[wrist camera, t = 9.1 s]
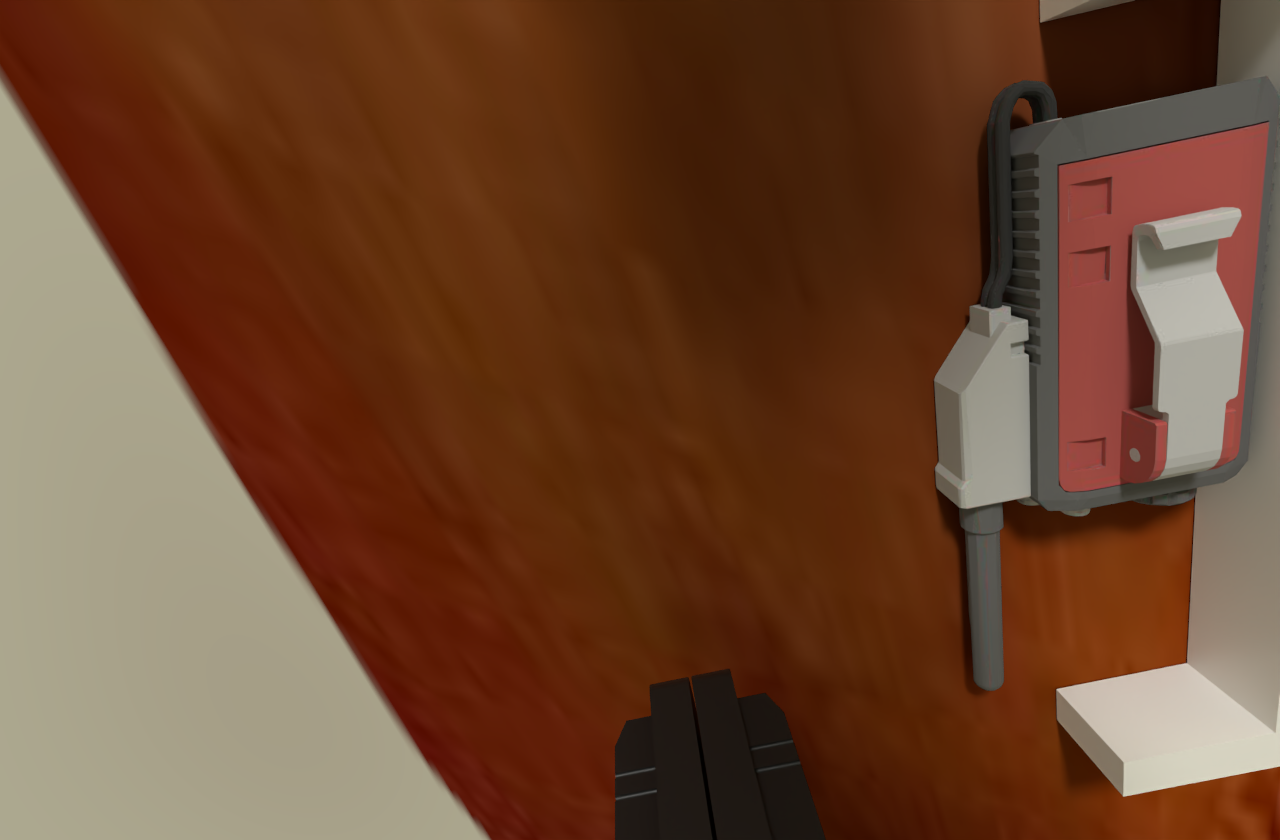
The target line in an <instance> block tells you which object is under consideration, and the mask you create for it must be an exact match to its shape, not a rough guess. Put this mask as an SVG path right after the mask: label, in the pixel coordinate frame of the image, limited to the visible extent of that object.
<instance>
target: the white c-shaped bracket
mask: <svg viewBox="0 0 1280 840" xmlns="http://www.w3.org/2000/svg"><path fill="white" fill-rule="evenodd" d="M1131 1H1135V0H1040V23H1041V22H1046V21H1050V20H1054V19H1058V18H1063V17H1067V16H1071V15H1075V14H1080V13H1084V12H1088V11H1092V10H1097V9H1101V8H1105V7H1109V6H1114V5H1118V4H1122V3H1126V2H1131ZM1263 76H1268V78H1269V80H1270V81H1271V83H1272V84H1273V86H1274V88H1275V89H1276V91H1277V92H1278V94H1279V95H1280V0H1221V10H1220V29H1219V49H1218V68H1217V86H1220V85H1225V84H1229V83H1234V82H1239V81H1244V80H1248V79H1253V78H1258V77H1263ZM1279 118H1280V110H1279ZM1277 140H1278V147H1277V148H1276V151H1275V162H1276V169H1275V170H1274V172H1273V183H1274V190H1273V191H1272V192H1271V204H1272V211H1271V212H1270V214H1269V225H1270V231H1269V232H1268V235H1267V245H1268V251H1267V252H1266V254H1265V265H1266V271H1265V272H1264V277H1263V284H1265V286H1264V290H1263V291H1262V297H1261V303H1263V307H1262V310H1261V311H1260V319H1259V322H1261V329H1260V339H1259V350H1258V360H1257V371H1256V381H1255V391H1254V402H1253V412H1252V423H1251V433H1250V443H1249V454H1248V461H1247V462H1246V463H1245V465H1244V466H1243V467H1242V469H1241V470H1240V471H1239V473H1238V474H1237V475H1235V476H1234V477H1232V478H1230V479H1229V480H1227V481H1225V482H1224V483H1219V484H1214V485H1209V486H1203V487H1198V488H1197V492H1196V496H1195V516H1194V535H1193V555H1192V574H1191V594H1190V613H1189V633H1188V652H1187V663H1185V664H1180V665H1175V666H1170V667H1165V668H1160V669H1155V670H1150V671H1145V672H1140V673H1135V674H1130V675H1125V676H1120V677H1115V678H1110V679H1105V680H1100V681H1095V682H1090V683H1085V684H1080V685H1075V686H1070V687H1065V688H1060V689H1056V702H1057V721H1058V722H1059V723H1060V724H1061V725H1062V726H1063V728H1064V729H1065V730H1066V731H1067V732H1068V733H1069V734H1070V736H1071V737H1072V738H1073V739H1074V740H1075V741H1076V743H1077V744H1078V745H1079V746H1080V747H1081V748H1082V749H1083V751H1084V752H1085V753H1086V754H1087V755H1088V756H1089V758H1090V759H1091V760H1092V761H1093V762H1094V763H1095V764H1096V766H1097V767H1098V768H1099V769H1100V770H1101V771H1102V773H1103V774H1104V775H1105V776H1106V777H1107V778H1108V779H1109V781H1110V782H1111V783H1112V784H1113V785H1114V786H1115V788H1116V789H1117V790H1118V791H1119V792H1120V793H1121V794H1122V796H1128V795H1134V794H1139V793H1144V792H1149V791H1154V790H1160V789H1165V788H1170V787H1175V786H1180V785H1185V784H1191V783H1196V782H1201V781H1206V780H1211V779H1217V778H1222V777H1227V776H1232V775H1237V774H1243V773H1248V772H1253V771H1258V770H1263V769H1268V768H1274V767H1279V766H1280V125H1279V126H1278V130H1277Z"/></svg>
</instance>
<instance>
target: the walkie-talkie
mask: <svg viewBox="0 0 1280 840" xmlns="http://www.w3.org/2000/svg"><path fill="white" fill-rule="evenodd" d="M1018 98H1025V99H1026V100H1028V101H1029V104H1030V106H1031V109H1032V116H1033V124H1030V126H1026V127H1021V128H1017V129H1012V130H1010V120H1011V115H1012V111H1013V107H1014V105H1015V103H1016V101H1017V100H1018ZM1279 110H1280V95H1279V94H1278V92H1277V91H1276V89H1275V88H1274V86H1273V84H1272V83H1271V81H1270V80H1269V78H1268V76H1263V77H1258V78H1253V79H1248V80H1244V81H1239V82H1234V83H1229V84H1225V85H1220V86H1215V87H1210V88H1206V89H1201V90H1196V91H1191V92H1187V93H1182V94H1177V95H1172V96H1168V97H1163V98H1158V99H1153V100H1149V101H1144V102H1139V103H1134V104H1130V105H1125V106H1120V107H1115V108H1111V109H1106V110H1101V111H1096V112H1092V113H1087V114H1082V115H1077V116H1073V117H1068V118H1063V119H1062V118H1058V119H1057V102H1056V99H1055V96H1054V93H1053V91H1052V89H1051V88H1049V87H1048V86H1047V85H1046V84H1045V83H1044V82H1039V81H1026V80H1023V81H1021V82H1019V83H1014V84H1012V85H1010V86H1008V87H1006V88H1004V89H1003V90H1002V91H1001V92H1000V93H999V95H998V96H997V97H996V98H995V100H994V101H993V103H992V107H991V111H990V115H989V119H988V123H987V146H988V178H989V209H990V241H991V263H990V272H989V276H988V278H987V281H986V283H985V285H984V287H983V289H982V295H981V304H978V305H973V306H970V321H969V323H968V325H967V326H966V328H965V329H964V331H963V333H962V334H961V336H960V337H959V339H958V341H957V342H956V344H955V345H954V347H953V349H952V350H951V352H950V353H949V355H948V357H947V358H946V360H945V361H944V363H943V365H942V366H941V368H940V370H939V371H938V373H937V374H936V376H935V379H934V386H935V403H936V420H937V437H938V454H939V462H938V464H937V465H936V467H935V478H936V487H937V489H938V490H940V491H941V492H942V493H943V494H944V495H945V496H947V497H948V498H949V499H950V500H951V501H952V502H953V503H955V504H956V505H957V506H958V507H959V517H960V525H961V527H962V528H964V529H965V542H966V563H967V584H968V605H969V619H970V624H971V640H972V658H973V676H974V681H975V683H976V684H977V685H978V686H979V687H981V688H982V689H985V690H988V691H993V690H996V689H998V688H1000V687H1001V686H1002V684H1003V682H1004V668H1003V634H1002V599H1001V565H1000V530H1001V529H1002V528H1003V506H1002V502H1006V501H1011V500H1016V499H1017V501H1018V502H1019V503H1021V504H1024V505H1041V506H1042V507H1043V508H1045V509H1046V510H1048V511H1061V512H1062V513H1064V514H1067V515H1070V516H1084V515H1087V514H1089V512H1090V508H1094V507H1099V506H1104V505H1110V504H1115V503H1120V502H1125V501H1130V500H1132V501H1135V502H1138V503H1142V504H1148V505H1165V506H1171V505H1177V504H1182V503H1184V502H1186V501H1189V500H1191V499H1192V498H1194V497H1195V495H1196V492H1197V488H1198V487H1203V486H1209V485H1214V484H1219V483H1224V482H1225V481H1227V480H1229V479H1230V478H1232V477H1234V476H1235V475H1237V474H1238V473H1239V471H1240V470H1241V469H1242V467H1243V466H1244V465H1245V463H1246V462H1247V461H1248V454H1249V443H1250V433H1251V423H1252V412H1253V402H1254V391H1255V381H1256V371H1257V360H1258V350H1259V339H1260V329H1261V322H1259V319H1260V311H1261V310H1262V307H1263V303H1261V297H1262V291H1263V290H1264V286H1265V284H1263V277H1264V272H1265V271H1266V265H1265V254H1266V252H1267V251H1268V245H1267V235H1268V232H1269V231H1270V225H1269V214H1270V212H1271V211H1272V204H1271V192H1272V191H1273V190H1274V183H1273V172H1274V170H1275V169H1276V162H1275V151H1276V148H1277V147H1278V140H1277V130H1278V126H1279V125H1280V118H1279Z"/></svg>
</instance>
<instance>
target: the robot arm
mask: <svg viewBox="0 0 1280 840" xmlns="http://www.w3.org/2000/svg"><path fill="white" fill-rule="evenodd" d="M692 684H693V691H694V697H695V702H694V698H693V693H692V689H691V685H690V681H689V678H688V677H686V678H681V679H676V680H671V681H666V682H661V683H656V684H652V685H650V702H651V716H649V717H644V718H639V719H634V720H629V721H626V723H625V725H624V728H623V730H622V732H621V734H620V737H619V739H618V741H617V743H616V746H615V775H616V779H615V797H616V802H615V840H826V839H825V836H824V833H823V830H822V827H821V824H820V821H819V818H818V815H817V812H816V809H815V806H814V803H813V800H812V796H811V793H810V790H809V787H808V784H807V781H806V778H805V775H804V772H803V769H802V766H801V764H800V760H799V757H798V754H797V751H796V748H795V745H794V743H793V739H792V736H791V733H790V730H789V727H788V723H787V720H786V717H785V714H784V712H783V711H782V710H781V709H780V708H779V707H778V706H777V705H776V704H775V703H774V702H773V701H772V700H771V699H770V698H769V696H768V695H767V694H766V693H762V694H757V695H752V696H747V697H742V698H737V696H736V692H735V688H734V684H733V680H732V676H731V672H730V669H725V670H720V671H715V672H710V673H705V674H700V675H695V676H692ZM695 703H696V706H695Z"/></svg>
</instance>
